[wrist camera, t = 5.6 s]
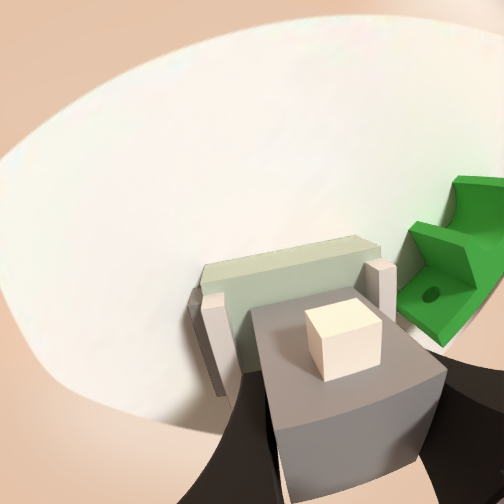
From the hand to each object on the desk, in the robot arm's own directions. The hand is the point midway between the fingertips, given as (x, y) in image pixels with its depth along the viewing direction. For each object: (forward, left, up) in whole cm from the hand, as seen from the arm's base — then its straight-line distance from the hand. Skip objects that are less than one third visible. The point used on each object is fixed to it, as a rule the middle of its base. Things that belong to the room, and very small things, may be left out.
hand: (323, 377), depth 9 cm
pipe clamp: (-10, -3, -5) cm, 12 cm away
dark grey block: (0, 0, -2) cm, 2 cm away
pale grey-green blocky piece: (0, 0, -5) cm, 5 cm away
